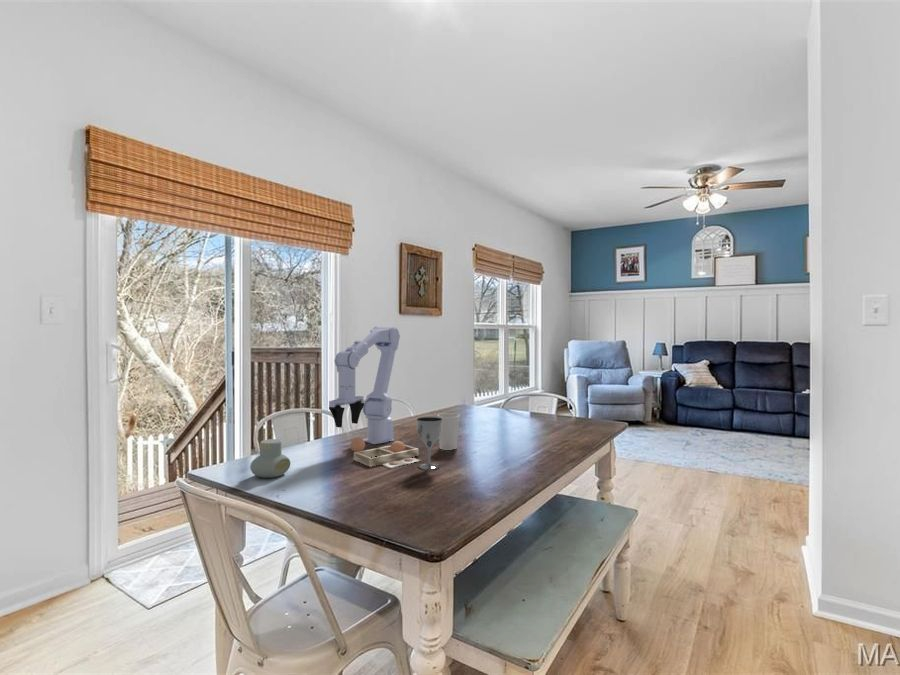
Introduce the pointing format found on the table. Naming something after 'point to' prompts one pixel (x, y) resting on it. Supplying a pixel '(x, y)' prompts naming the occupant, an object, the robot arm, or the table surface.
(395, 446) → the ball
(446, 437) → the cup
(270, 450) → the air freshener
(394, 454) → the rack
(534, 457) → the table surface
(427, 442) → the wine glass
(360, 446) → the loose ball
